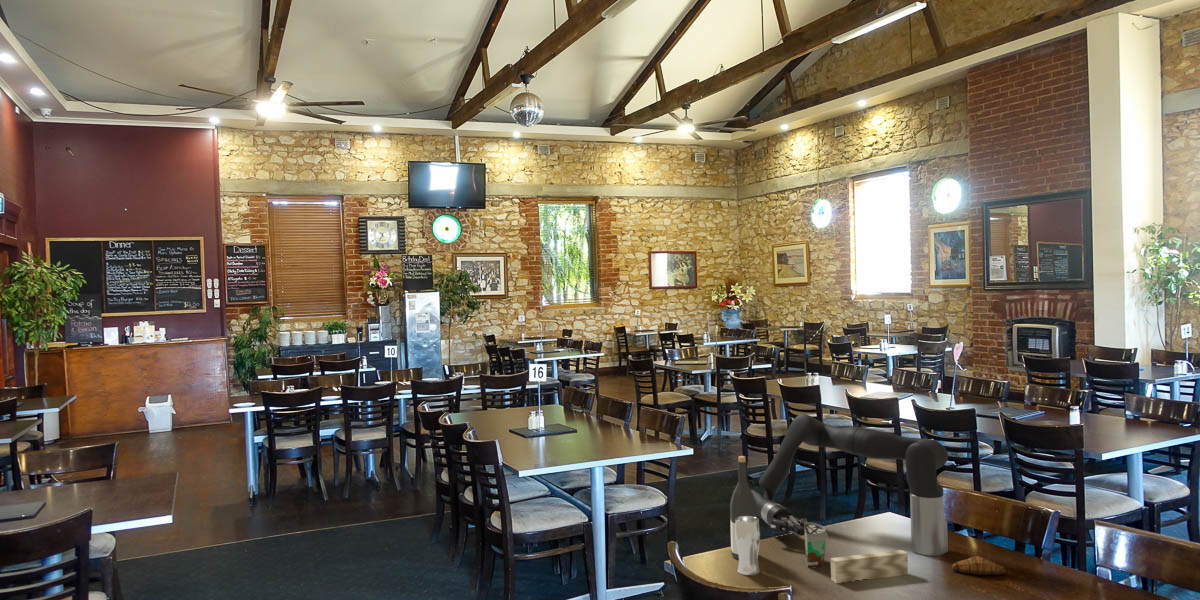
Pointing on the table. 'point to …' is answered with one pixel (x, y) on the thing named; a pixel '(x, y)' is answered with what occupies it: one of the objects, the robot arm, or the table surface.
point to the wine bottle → (741, 503)
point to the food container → (814, 544)
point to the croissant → (978, 567)
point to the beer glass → (747, 544)
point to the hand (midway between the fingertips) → (802, 532)
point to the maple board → (869, 566)
